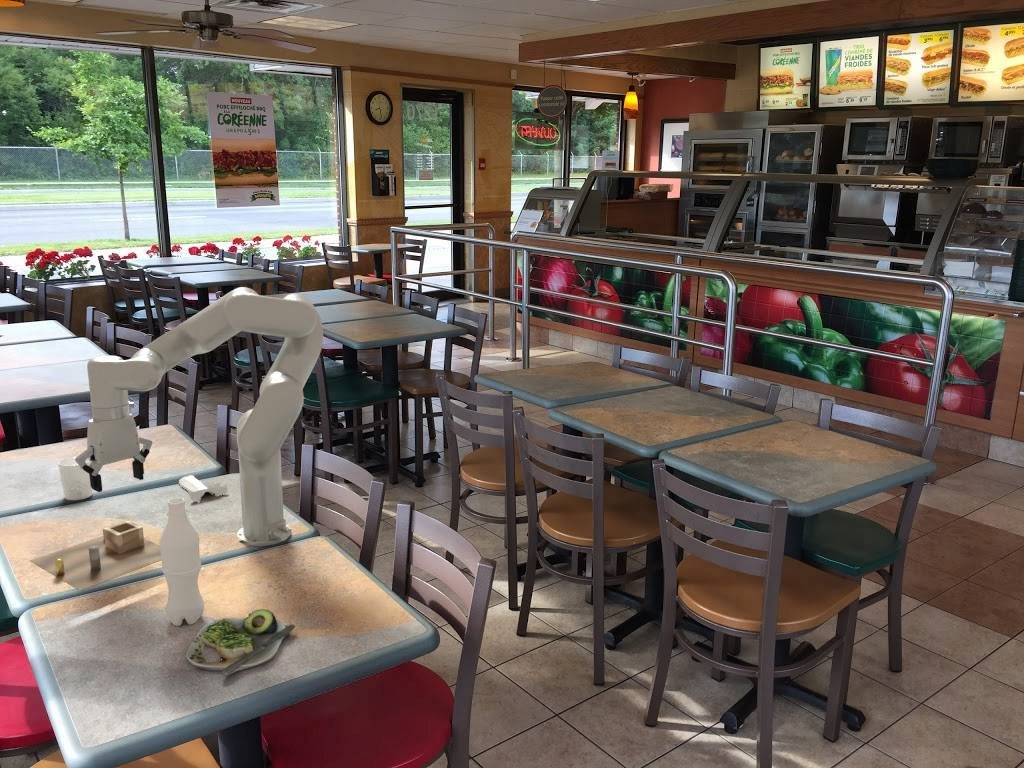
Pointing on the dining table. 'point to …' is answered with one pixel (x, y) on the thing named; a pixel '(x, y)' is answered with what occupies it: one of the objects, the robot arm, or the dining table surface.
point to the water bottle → (181, 565)
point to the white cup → (74, 479)
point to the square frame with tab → (123, 536)
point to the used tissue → (200, 488)
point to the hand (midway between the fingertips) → (118, 484)
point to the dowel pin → (59, 567)
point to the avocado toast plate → (239, 641)
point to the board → (106, 560)
